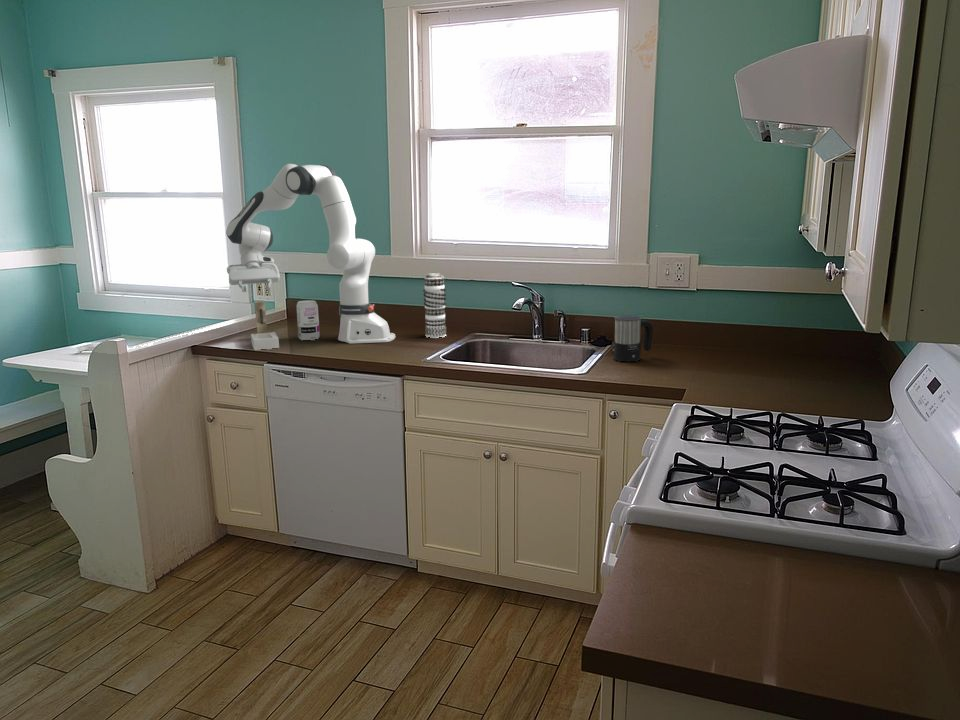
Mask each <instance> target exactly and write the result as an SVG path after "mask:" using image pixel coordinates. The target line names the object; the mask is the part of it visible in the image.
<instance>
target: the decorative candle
mask: <svg viewBox="0 0 960 720" xmlns="http://www.w3.org/2000/svg"><path fill="white" fill-rule="evenodd" d="M422 291H423V297H424V298H423V305H424V309H425V319H424V322H425V323H424V325H425V327H424V329H425V331H424V334H425V336H426V337H425V338H428V337H430V338H429V339H440V338H439V337H442V338H446V337H447V334H446V333H447V326H446V325H447V323H446V321H447V319H446V311H445V308H446V304H447V303H446V302H445V300H447V298H446V297H445V296H447V294H446V293H445V291H447V288H445V276H443V274H442V273H438V272H432V273H431V272H430V273H427V274H426V275H425V277H424V288H423V290H422ZM445 336H446V337H445Z"/></svg>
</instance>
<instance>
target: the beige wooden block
mask: <svg viewBox="0 0 960 720" xmlns="http://www.w3.org/2000/svg"><path fill="white" fill-rule="evenodd" d="M254 309H255V310H254V311H255V324H256V332H257V333H256V334H260V333H268V325H267V313H266V312H267V311H266V302H265V300H255V301H254Z"/></svg>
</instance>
